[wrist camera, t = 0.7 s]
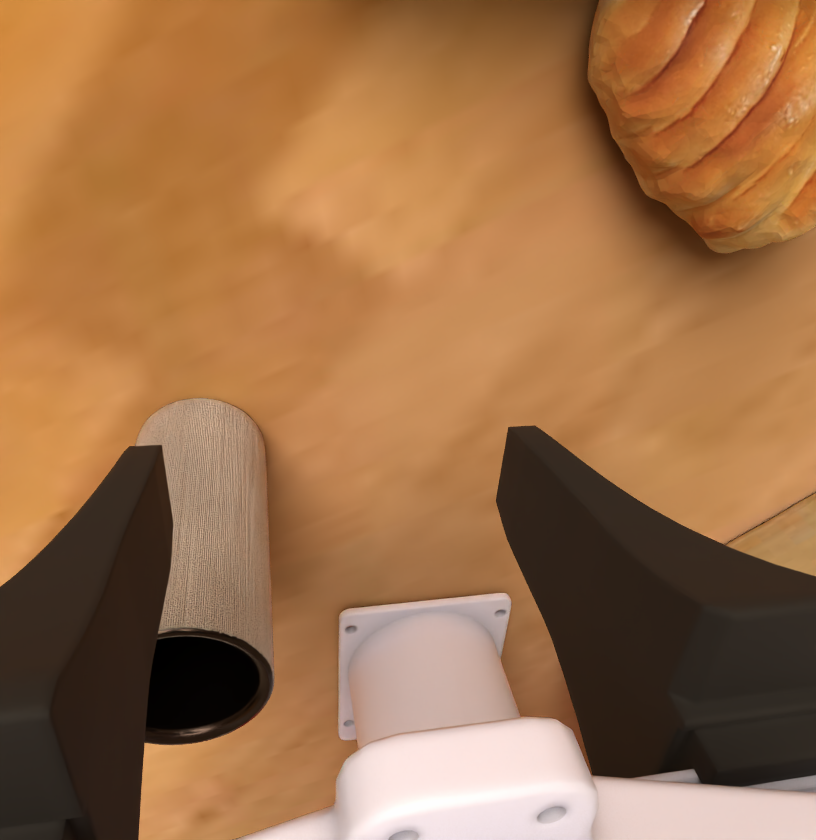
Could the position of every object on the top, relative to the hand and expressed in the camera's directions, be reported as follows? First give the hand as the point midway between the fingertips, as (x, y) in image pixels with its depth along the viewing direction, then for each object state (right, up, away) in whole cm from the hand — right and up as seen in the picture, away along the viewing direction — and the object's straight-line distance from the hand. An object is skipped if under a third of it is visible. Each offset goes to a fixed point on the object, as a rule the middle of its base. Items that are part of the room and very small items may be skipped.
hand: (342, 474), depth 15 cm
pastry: (+11, +11, +8) cm, 17 cm away
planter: (-6, 0, +11) cm, 13 cm away
